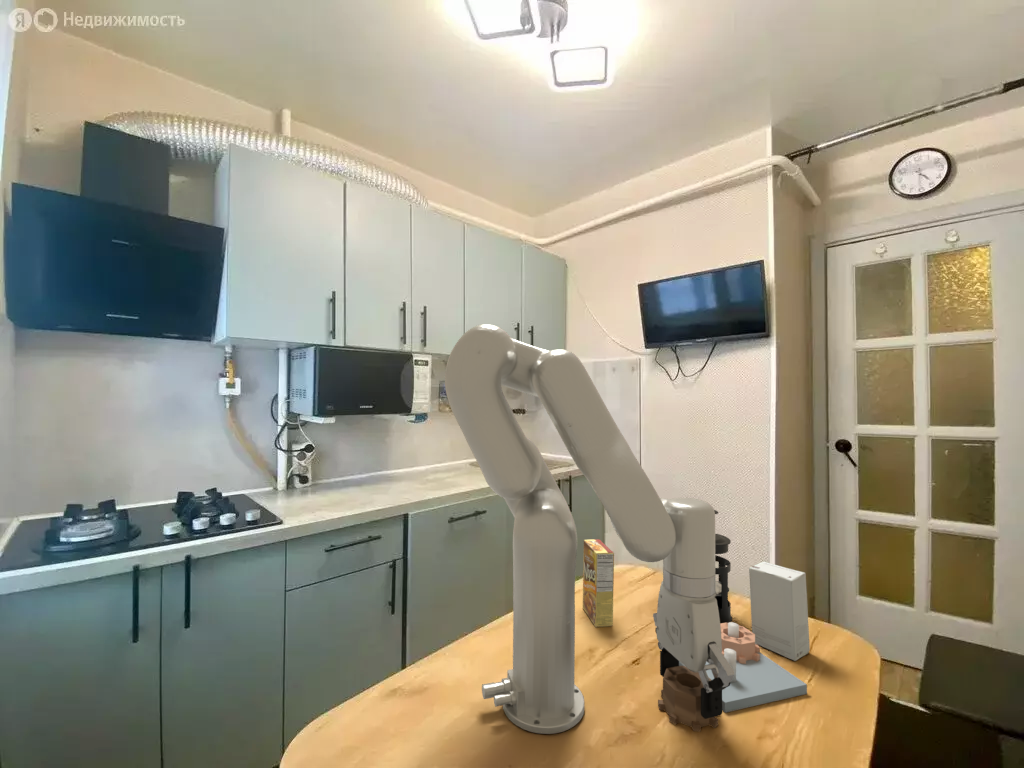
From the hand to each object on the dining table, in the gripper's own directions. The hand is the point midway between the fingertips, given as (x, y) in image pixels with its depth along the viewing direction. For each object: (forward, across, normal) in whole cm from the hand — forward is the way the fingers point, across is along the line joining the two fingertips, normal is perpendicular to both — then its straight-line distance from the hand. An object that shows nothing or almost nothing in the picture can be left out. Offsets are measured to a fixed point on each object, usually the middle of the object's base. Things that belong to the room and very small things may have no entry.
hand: (689, 694), depth 70 cm
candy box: (+3, -30, 0) cm, 30 cm away
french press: (+3, -24, +23) cm, 33 cm away
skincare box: (+3, -10, +28) cm, 30 cm away
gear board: (+2, -6, +13) cm, 14 cm away
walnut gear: (+2, 0, 0) cm, 2 cm away
